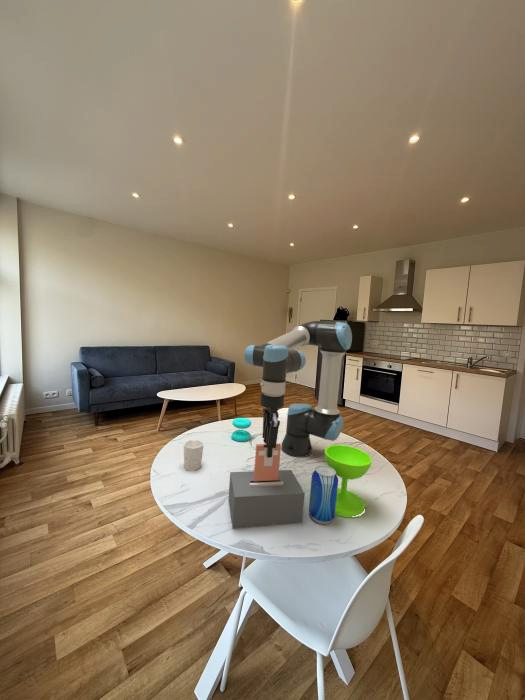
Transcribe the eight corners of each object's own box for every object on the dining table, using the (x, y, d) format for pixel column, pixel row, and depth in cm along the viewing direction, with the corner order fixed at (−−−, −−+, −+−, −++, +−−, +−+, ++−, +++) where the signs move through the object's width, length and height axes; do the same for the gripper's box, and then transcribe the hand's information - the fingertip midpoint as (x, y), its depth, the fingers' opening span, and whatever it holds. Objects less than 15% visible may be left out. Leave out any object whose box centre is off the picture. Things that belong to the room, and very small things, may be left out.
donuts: (253, 418, 153) (248, 424, 144) (252, 436, 154) (247, 443, 145) (236, 415, 155) (230, 421, 146) (234, 433, 156) (228, 440, 147)
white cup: (197, 473, 114) (198, 449, 113) (179, 469, 115) (180, 446, 114) (205, 464, 121) (206, 441, 120) (188, 460, 123) (189, 438, 122)
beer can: (306, 507, 97) (310, 463, 96) (330, 509, 97) (335, 464, 96) (310, 524, 89) (315, 476, 88) (337, 526, 89) (342, 478, 88)
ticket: (277, 478, 94) (280, 443, 93) (278, 480, 93) (281, 445, 92) (253, 479, 93) (256, 444, 92) (254, 481, 92) (256, 445, 90)
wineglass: (326, 484, 112) (331, 441, 111) (369, 499, 105) (374, 452, 103) (313, 506, 98) (318, 456, 97) (361, 524, 91) (368, 471, 89)
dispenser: (288, 495, 103) (291, 468, 102) (301, 522, 90) (304, 491, 89) (228, 499, 99) (230, 470, 98) (232, 528, 85) (234, 495, 84)
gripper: (257, 387, 96) (252, 453, 99) (266, 399, 82) (260, 476, 85) (278, 388, 98) (273, 453, 100) (290, 400, 84) (284, 475, 86)
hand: (267, 463), depth 93 cm, fingers closed on ticket
